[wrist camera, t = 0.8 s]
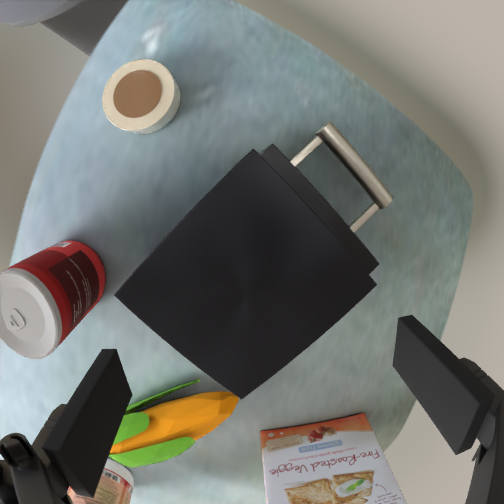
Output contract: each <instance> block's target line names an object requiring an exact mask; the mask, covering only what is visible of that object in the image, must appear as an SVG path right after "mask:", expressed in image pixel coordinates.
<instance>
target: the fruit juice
mask: <svg viewBox="0 0 504 504" xmlns="http://www.w3.org/2000/svg"><path fill="white" fill-rule="evenodd" d="M133 487H134V478H133V475H132V474H131V472H130V471H129V470H128V469H127V468H125V467H124V466H123V465H121V464H120V463H118V462H116V461H114V460H112V459H109V458H108V459H107V462H106V464H105V467H104V470H103V473H102V475H101V478H100V481H99V484H98V487H97V490H96V493H95V495H94V498H90V497H85V496H81V495H76V493H75V492H74V491H73V490H72V489H71V487H69V490H68V492H67V494H68V495H69V496H70V498H71V500H72V502H73V504H129V503H130V499H131V495H132V491H133Z"/></svg>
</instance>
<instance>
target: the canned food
mask: <svg viewBox="0 0 504 504" xmlns="http://www.w3.org/2000/svg"><path fill="white" fill-rule="evenodd" d="M105 282H106V275H105V269H104V266H103V263H102V261H101V259H100V258H99V256H98V255H97V253H96V252H95V251H94V250H93V249H92V248H90V247H89V246H88V245H86V244H84V243H81V242H78V241H69V240H68V241H62V242H60V243H57V244H55V245H53V246H51V247H49V248H47V249H45V250H43V251H41V252H39V253H37V254H35V255H33V256H31V257H29V258H27V259H25V260H23V261H21V262H19V263H17V264H15V265H13V266H11V267H9V268H8V269H6V270H4V271H2V272H1V273H0V337H1V339H2V340H3V341H4V342H5V343H6V344H7V345H8V346H9V347H10V348H11V349H12V350H13V351H15V352H16V353H18V354H20V355H22V356H24V357H27V358H30V359H41V358H44V357H46V356H48V355H49V354H50V353H52V352H53V351H54V350H55V349H56V348H57V347H58V346H59V345H60V344H61V343H62V342H63V340H64V339H65V338H66V337H67V336H68V335H69V334H70V333H71V331H72V330H73V329H74V328H75V327H76V326H77V325H78V324H79V322H80V321H81V320H82V319H83V318H84V317H85V316H86V315H87V314H88V313H89V311H90V310H91V309H92V308H93V307H94V306H95V305H96V304H97V303H98V302H99V300H100V299H101V297H102V294H103V292H104V288H105Z"/></svg>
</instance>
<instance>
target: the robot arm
mask: <svg viewBox="0 0 504 504" xmlns="http://www.w3.org/2000/svg"><path fill="white" fill-rule="evenodd" d="M393 367H394V368H395V369H396V371H397V372H398V374H399V375H400V376H401V378H402V379H403V380H404V382H405V383H406V384H407V386H408V387H409V389H410V390H411V391H412V393H413V394H414V396H415V397H416V398H417V400H418V401H419V403H420V404H421V405H422V407H423V408H424V409H425V411H426V412H427V414H428V415H429V417H430V418H431V420H432V421H433V422H434V424H435V425H436V427H437V428H438V430H439V431H440V433H441V434H442V435H443V437H444V438H445V440H446V441H447V443H448V444H449V446H450V447H451V449H452V450H453V452H454V453H455V455H457V454H460V453H462V452H464V451H466V450H468V449H470V448H471V447H472V446H473V443H474V442H475V439H476V437H477V439H478V440H479V441H480V443H481V444H480V445H479V448H478V449H477V451H476V453H475V455H474V457H473V459H472V461H474V460H475V458H476V463H475V467H474V471H473V476H472V480H471V485H470V488H469V493H468V496H467V499H466V503H465V504H504V390H503V389H502V388H501V387H499V385H498V384H497V383H496V382H494V381H493V380H492V379H491V378H490V377H489V376H487V374H486V373H485V372H484V371H483V370H481V368H480V367H479V366H478V365H477V364H476V363H475V362H473V361H471V360H469V359H466V358H462V359H458V358H457V357H456V356H455V355H454V354H453V353H452V352H451V351H450V350H449V349H448V348H447V347H446V346H445V345H444V344H443V343H442V342H441V341H440V340H439V339H437V338H436V337H435V336H434V335H433V334H432V333H431V332H430V331H429V330H428V329H427V328H426V327H425V326H423V325H422V324H421V323H420V322H419V321H418V320H417V319H416V318H415V317H414V316H413V315H409V316H405V317H400V318H398V326H397V335H396V344H395V352H394V359H393ZM131 397H132V392H131V390H130V387H129V384H128V382H127V379H126V376H125V373H124V370H123V367H122V364H121V361H120V358H119V355H118V352H117V349H102V350H101V352H100V353H99V355H98V356H97V358H96V359H95V361H94V363H93V364H92V366H91V367H90V369H89V370H88V372H87V373H86V375H85V376H84V378H83V380H82V381H81V383H80V384H79V386H78V387H77V389H76V391H75V392H74V394H73V395H72V397H71V399H70V400H69V402H68V403H67V404H61V405H60V406H58V407H57V408H56V409H55V410H53V412H52V413H51V415H50V416H49V418H48V421H46V423H45V424H44V427H43V428H42V429H41V431H40V432H39V434H38V436H37V437H36V439H35V441H34V442H33V444H32V446H31V445H30V443H29V442H28V440H27V439H26V437H25V436H24V435H22V434H20V433H12V434H9V435H7V436H5V437H4V438H3V439H2V440H1V441H0V454H1V455H2V457H3V458H4V459H5V460H0V504H73V502H72V500H71V498H70V496H69V495H68V494H67V491H68V488H69V486H70V487H71V489H72V490H73V491H74V492H75V493H76V495H81V496H85V497H90V498H94V495H95V493H96V490H97V487H98V484H99V481H100V478H101V475H102V473H103V470H104V467H105V464H106V462H107V459H108V456H109V453H110V451H111V448H112V445H113V443H114V440H115V438H116V435H117V432H118V430H119V427H120V425H121V422H122V419H123V417H124V414H125V412H126V409H127V407H128V404H129V402H130V399H131Z"/></svg>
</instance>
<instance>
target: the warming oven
mask: <svg viewBox="0 0 504 504" xmlns="http://www.w3.org/2000/svg"><path fill="white" fill-rule="evenodd" d="M376 285H377V284H376V283H375V282H374V280H373V279H372V278H371V277H370V276H369V274H368V273H367V272H366V271H365V270H364V268H363V267H362V266H361V265H360V264H359V263H358V261H357V260H356V259H355V258H354V257H353V255H352V254H351V253H350V252H349V251H348V250H347V249H346V247H345V246H344V245H343V244H342V243H341V242H340V240H339V239H338V238H337V237H336V236H335V235H334V234H333V233H332V231H331V230H330V229H329V228H328V227H327V226H326V225H325V224H324V222H323V221H322V220H321V219H320V218H319V217H318V216H317V215H316V214H315V212H314V211H313V210H312V209H311V208H310V207H309V206H308V205H307V204H306V203H305V202H304V201H303V199H302V198H301V197H300V196H299V195H298V194H297V193H296V192H295V191H294V190H293V189H292V188H291V187H290V186H289V185H288V183H287V182H286V181H285V180H284V179H283V178H282V177H281V176H280V175H279V174H278V173H277V172H276V171H275V170H274V169H273V168H272V167H271V166H270V165H269V164H268V163H267V162H266V161H265V160H264V159H263V158H262V157H261V156H260V155H259V154H258V153H257V152H256V151H255V150H254V149H252V150H251V151H250V152H249V153H248V154H247V155H246V156H245V157H244V158H243V159H242V160H241V161H240V162H239V163H238V164H237V165H236V166H235V167H234V168H233V169H232V170H231V171H230V172H229V173H228V174H226V175H225V176H224V177H223V178H222V179H221V180H220V181H219V182H218V183H217V184H216V185H215V186H214V187H213V188H212V189H211V190H210V191H209V192H208V193H207V194H206V195H205V196H204V198H203V199H202V200H201V201H200V202H199V203H198V204H197V205H196V206H195V207H194V208H193V209H192V210H191V211H190V212H189V213H188V214H187V215H186V216H185V217H184V218H183V219H182V220H181V221H180V222H179V223H178V224H177V226H176V227H175V228H174V229H173V230H172V231H171V232H170V233H169V234H168V235H167V236H166V237H165V238H164V239H163V241H162V242H161V243H160V244H159V245H158V246H157V247H156V248H155V249H154V250H153V251H152V253H151V254H150V255H149V256H148V257H147V258H146V259H145V260H144V261H143V263H142V264H141V265H140V266H139V267H138V268H137V269H136V270H135V272H134V273H133V274H132V275H131V276H130V277H129V278H128V279H127V281H126V282H125V283H124V284H123V285H122V286H121V288H120V289H119V290H118V291H117V292H116V293H115V295H114V296H115V297H116V298H117V299H119V300H120V301H121V302H122V303H123V304H124V305H125V306H126V307H127V308H128V309H129V310H130V311H132V312H133V313H134V314H135V315H136V316H137V317H138V318H139V319H140V320H142V321H143V322H144V323H145V324H146V325H147V326H148V327H150V328H151V329H152V330H153V331H154V332H155V333H157V334H158V335H159V336H160V337H161V338H162V339H164V340H165V341H166V342H167V343H168V344H170V345H171V346H172V347H173V348H174V349H176V350H177V351H178V352H179V353H181V354H182V355H183V356H184V357H186V358H187V359H188V360H189V361H191V362H192V363H193V364H194V365H196V366H197V367H198V368H199V369H201V370H202V371H203V372H205V373H206V374H207V375H209V376H210V377H211V378H213V379H214V380H215V381H217V382H218V383H219V384H221V385H222V386H223V387H225V388H226V389H227V390H229V391H230V392H232V393H233V394H234V395H236V396H237V397H239V398H240V399H243V398H244V397H245V396H247V395H248V394H249V393H251V392H252V391H253V390H255V389H256V388H257V387H259V386H260V385H261V384H263V383H264V382H265V381H267V380H268V379H269V378H270V377H272V376H273V375H274V374H276V373H277V372H278V371H279V370H281V369H282V368H283V367H284V366H286V365H287V364H288V363H289V362H291V361H292V360H293V359H294V358H295V357H297V356H298V355H299V354H300V353H302V352H303V351H304V350H305V349H306V348H308V347H309V346H310V345H311V344H312V343H313V342H315V341H316V340H317V339H318V338H319V337H320V336H322V335H323V334H324V333H325V332H326V331H327V330H329V329H330V328H331V327H332V326H333V325H334V324H335V323H336V322H338V321H339V320H340V319H341V318H342V317H343V316H344V315H345V314H346V313H348V312H349V311H350V310H351V309H352V308H353V307H354V306H355V305H356V304H357V303H358V302H359V301H361V300H362V299H363V298H364V297H365V296H366V295H367V294H368V293H369V292H370V291H371V290H372V289H373V288H374V287H375V286H376Z"/></svg>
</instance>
